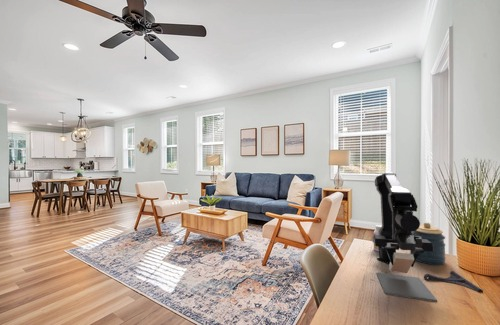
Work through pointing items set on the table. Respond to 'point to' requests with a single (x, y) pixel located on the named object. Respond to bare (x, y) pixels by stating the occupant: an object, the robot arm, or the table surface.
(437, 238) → the canister
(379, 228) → the supplement bottle
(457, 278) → the bracket
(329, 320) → the table surface
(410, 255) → the tile
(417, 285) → the mat
